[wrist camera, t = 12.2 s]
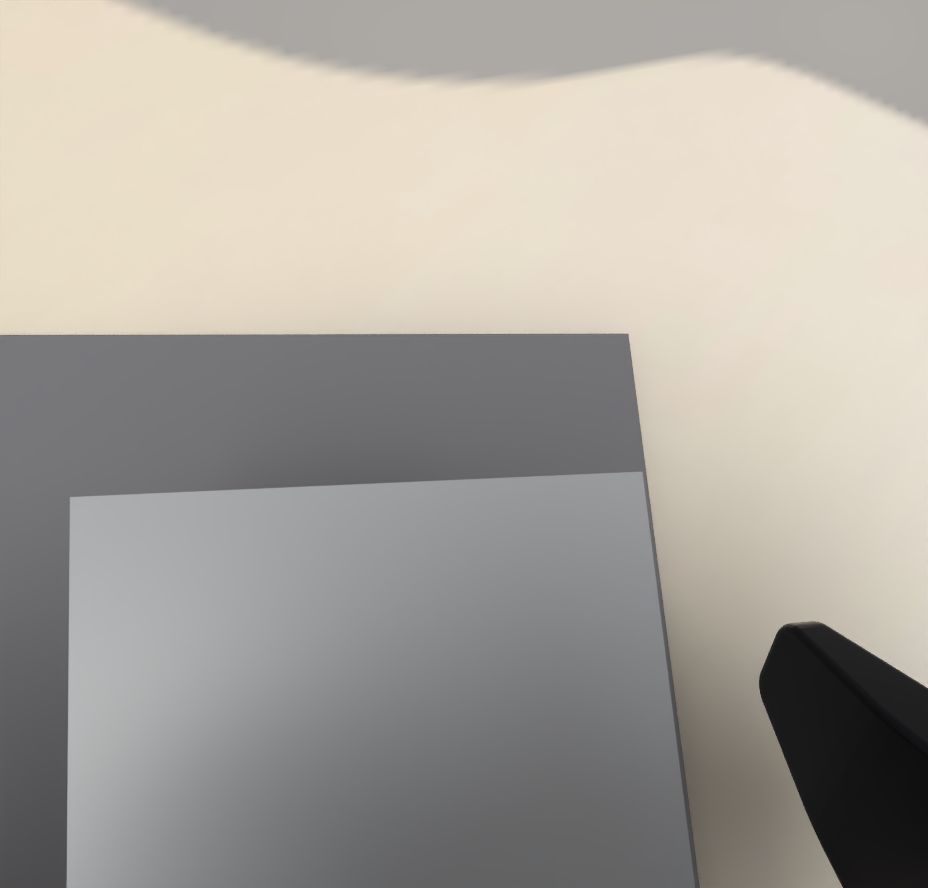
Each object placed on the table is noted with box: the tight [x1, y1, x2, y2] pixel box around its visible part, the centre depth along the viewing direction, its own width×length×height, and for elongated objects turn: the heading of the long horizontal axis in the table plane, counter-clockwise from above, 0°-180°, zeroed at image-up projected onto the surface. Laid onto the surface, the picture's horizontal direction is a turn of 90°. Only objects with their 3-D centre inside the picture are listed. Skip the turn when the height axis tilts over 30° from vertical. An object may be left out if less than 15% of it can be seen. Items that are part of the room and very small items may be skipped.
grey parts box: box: [67, 472, 695, 888], centre depth 11 cm, size 5×5×9 cm
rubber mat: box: [0, 334, 699, 888], centre depth 16 cm, size 14×14×1 cm
